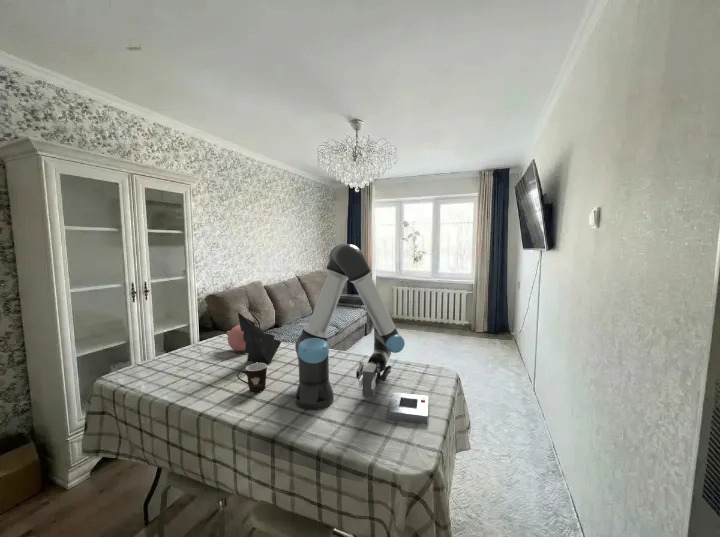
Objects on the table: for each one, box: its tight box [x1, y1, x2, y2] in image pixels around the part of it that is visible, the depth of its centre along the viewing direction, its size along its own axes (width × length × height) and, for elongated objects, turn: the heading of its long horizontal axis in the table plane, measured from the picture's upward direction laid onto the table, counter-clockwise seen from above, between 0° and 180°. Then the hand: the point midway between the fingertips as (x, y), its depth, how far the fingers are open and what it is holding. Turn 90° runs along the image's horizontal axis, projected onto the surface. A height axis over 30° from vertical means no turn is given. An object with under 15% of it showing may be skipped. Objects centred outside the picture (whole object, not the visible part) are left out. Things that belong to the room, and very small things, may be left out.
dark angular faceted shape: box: [237, 312, 283, 365], centre depth 157 cm, size 15×15×35 cm
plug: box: [361, 362, 377, 399], centre depth 115 cm, size 4×5×11 cm
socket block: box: [386, 391, 429, 425], centre depth 112 cm, size 14×14×4 cm
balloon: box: [225, 324, 246, 352], centre depth 180 cm, size 15×20×15 cm
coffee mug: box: [236, 362, 268, 393], centre depth 131 cm, size 12×9×10 cm
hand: (366, 384), depth 110 cm, fingers closed on plug, 4 cm apart
